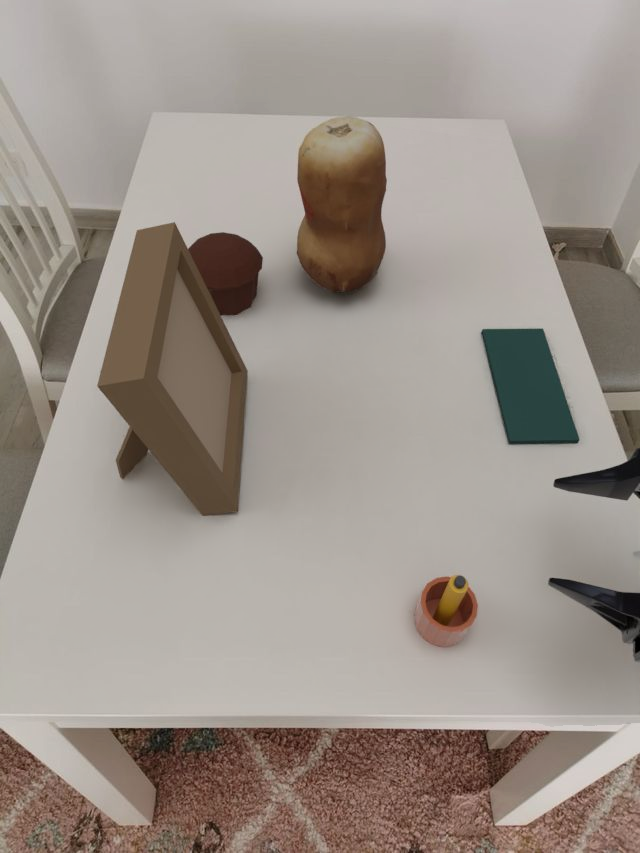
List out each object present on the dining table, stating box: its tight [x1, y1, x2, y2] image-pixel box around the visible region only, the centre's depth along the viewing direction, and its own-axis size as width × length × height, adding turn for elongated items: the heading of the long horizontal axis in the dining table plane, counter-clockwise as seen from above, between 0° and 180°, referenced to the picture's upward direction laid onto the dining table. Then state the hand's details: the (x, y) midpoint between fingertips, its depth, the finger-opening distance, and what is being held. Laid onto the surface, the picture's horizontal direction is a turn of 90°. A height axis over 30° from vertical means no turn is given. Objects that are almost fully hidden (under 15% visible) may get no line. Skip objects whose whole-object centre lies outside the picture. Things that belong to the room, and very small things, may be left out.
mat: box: [481, 328, 580, 445], centre depth 85 cm, size 20×9×1 cm, turn 1°
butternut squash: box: [296, 116, 388, 295], centre depth 88 cm, size 14×13×25 cm
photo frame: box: [96, 221, 249, 517], centre depth 69 cm, size 15×22×25 cm
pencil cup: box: [413, 576, 479, 648], centre depth 64 cm, size 6×6×6 cm
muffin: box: [187, 231, 264, 317], centre depth 91 cm, size 12×11×10 cm
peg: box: [433, 574, 470, 626], centre depth 61 cm, size 2×2×11 cm
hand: (551, 530), depth 55 cm, fingers open, 9 cm apart
